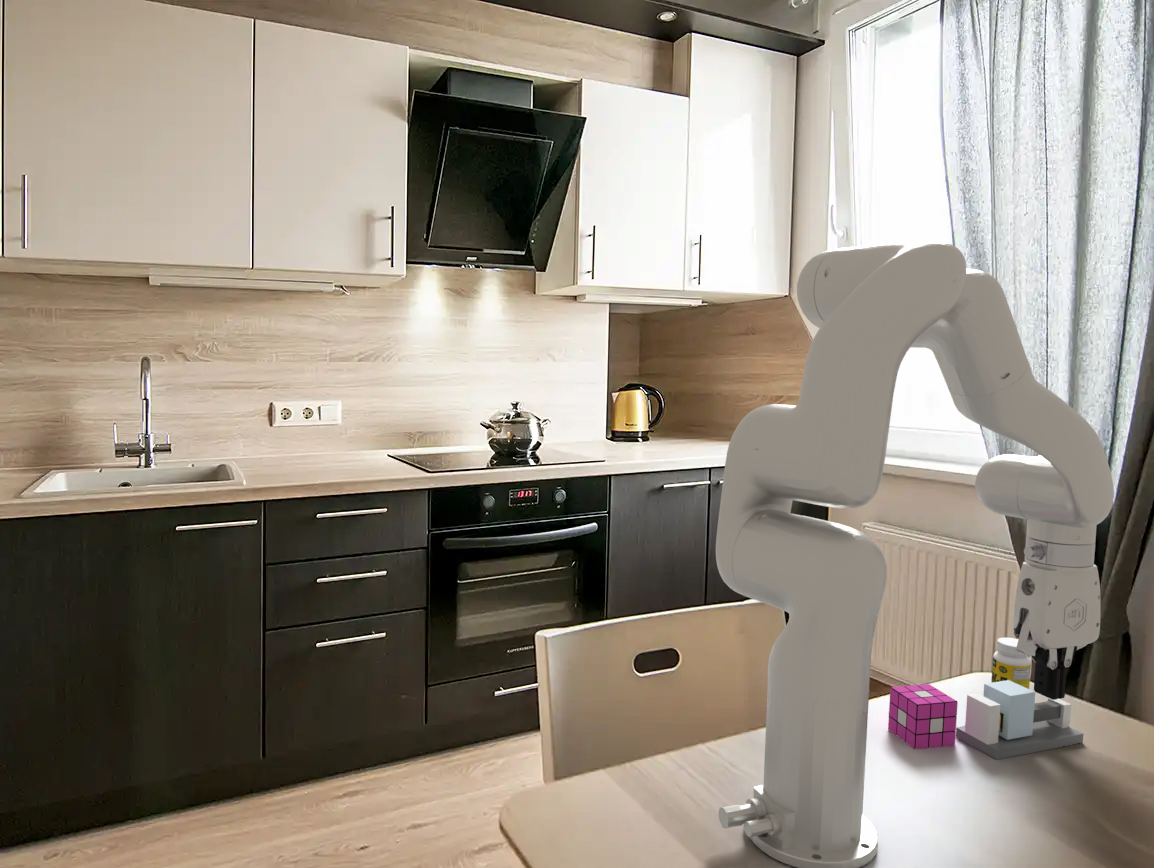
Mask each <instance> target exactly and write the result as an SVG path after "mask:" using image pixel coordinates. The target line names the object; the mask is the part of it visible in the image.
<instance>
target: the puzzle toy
mask: <svg viewBox="0 0 1154 868" xmlns="http://www.w3.org/2000/svg"><path fill="white" fill-rule="evenodd" d="M889 691H890V692H889V704H888V705H889V707H888V726H887V727H888V728H887V730H888V731H889V732H890V733H892V734H893V735H895V737H897V738H899V739H900V740H901V741H903V742H904V743H906V744H907V745H908V746H909V747H911V748H912V749H914V750H922V749H929V748H930V749H932V748H941V747H949V746H950V747H951V746H952V747H953V746H955V745H956V727H957V720H958V719H957V715H958V700H956V699H954V698H953V697H951V696H949V695H948V694H946V693H944V692H943V691H941V690H940V689H938V688H936V687H935V686H933V685H931V684H929V683H924V684H914V685H913V684H911V685H904V686H903V685H901V686H900V685H899V686H890V688H889Z"/></svg>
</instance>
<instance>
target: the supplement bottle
mask: <svg viewBox="0 0 1154 868" xmlns="http://www.w3.org/2000/svg"><path fill="white" fill-rule="evenodd" d="M1018 640H1019V639H1018V638H1016V637H1015V638H1014V637H999V638H998V639H997V641H996V645H995V646H996V651H995V652H994V653H993V654H992V655H993V656H992V666H991V682H990V683H993V682H1000V681H1006V680H1010V681H1012V682H1014V683H1016V684H1019V685H1021V686H1023V687H1025V688H1027V689H1030V683H1031V682H1030V681H1031V672H1032V671H1031V668H1032V659H1031V658H1030V657H1029V655H1026V654H1023V653H1021V652H1018V651H1017V649H1016V648H1017V644H1018Z"/></svg>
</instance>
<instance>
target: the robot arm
mask: <svg viewBox="0 0 1154 868" xmlns="http://www.w3.org/2000/svg"><path fill="white" fill-rule="evenodd" d="M796 294H797V295H796V297H797V303H798V306H799V307H800V310H801V312H802V314H803V315H804V317H805V318H806V319H807V320H808V321H809V322H810V323H811V324H812V325H814V326H815V327H816V328H818V331H817V332H816V334H815V335H814V337H813V339H812V342H811V343H810V346H809V348H808V351H807V355H806V358H805V363H804V364H805V365H804V369H803V375H802V381H801V386H800V391H799V396H798V400H797V403H796V405H793V404H784V403H783V404H779V403H772V404H765V405H761V406H758V407H757V408H756V407H755V409H752V410H751V411H750V412H749V413H747V414H746V415H745V416H744V417H743V418H742V419H741V420H740V421H739V423H738V425H737V426H736V428H734V429H735V430H734V432H733V433H732V436H731V438H730V441H729V444H728V447H727V452H726V457H725V465H724V471H723V480H722V487H721V495H720V505H719V511H718V518H717V519H718V520H717V521H718V522H717V527H716V528H717V529H716V537H715V560H716V566H717V570H718V573H719V576H720V577H721V579H722V580H723V583H725V584H726V586H728V587H729V589H730V590H732V591H733V592H735V593H737V594H739V595H742V596H743V597H746V598H749V599H751V600H755V601H757V602H760V603H763V604H766V605H768V606H772V607H774V608H777V609H778V610H780V611H781V610H782V611H784V612H786V613H788V614H789V615H788V616H789V618H788V622H787V623H786V626H785V627H784V628H783V630H782V632H781V633H780V634H779V636H778V637H777V638H776V640H775V641H774V643H773V645H772V648H771V650H770V653H769V657H768V666H767V695H766V717H765V740H764V741H765V743H764V744H765V745H764V760H763V761H764V768H763V784H760V785H757V786H753V797H752V798H748V799H747V800H745V803H740V804H731V805H726V806H721V807H719V809H718V820H719V823H720V825H721V827H723V829H729V828H736V827H739V826H743V829H744V833H745V834H746V836H747V837H748V838H749V839H750V840H751V841H752V843H753V844H754V845H755V846H756V847H758V849H760V850H761V851H762V852H763V853H765V854H766V855H768V856H769V857H771V858H773V859H774V860H776V861H779V862H781V863H783V864H786V865H789V866H792V867H794V868H861V867H863V866H865V865H867V864H868V863H869V862H871V861H872V860H873V859H874V857H875V856H876V855H877V853H878V847H879V844H878V843H879V835H878V832H877V829H876V828H875V826H874V825H873V822H871V820H869V819H868V818H867V817H866V816H865V815H864V814H863V811H864V810H863V809H864V794H865V793H864V792H865V791H864V790H865V773H866V758H867V757H866V755H867V754H866V753H867V740H868V739H867V738H868V737H867V736H868V720H869V719H868V717H869V701H870V699H869V698H870V676H871V675H870V674H871V663H872V650H873V643H874V637H875V632H876V631H875V630H876V626H877V622H878V618H879V613H880V609H881V607H882V604H883V599H884V595H885V593H886V592H885V591H886V588H887V587H886V586H887V581H888V580H887V579H888V569H887V567H888V566H887V562H886V558H885V555H884V553H883V552H882V550H881V548H880V547H879V545H878V544H877V543H876V542H875V540H874V539H872V538H871V537H869V535H867V534H865V533H863V532H862V531H860V530H858V529H856V528H854V527H851V526H848V525H846V524H841V523H838V522H834V521H829V520H825V519H820V518H817V517H816V518H815V517H813V516H806V515H801V514H795V513H791V512H792V506H793V501H796V502H802V503H806V504H812V505H817V506H822V507H826V508H835V509H856V508H861V507H862V506H865V505H867V504H868V503H870V502H871V501H872V500H873V499H874V497H875V496H876V495H877V492H878V490H879V488H880V484H881V481H882V477H883V473H884V467H885V460H886V453H887V446H888V439H889V432H890V425H891V424H890V423H891V418H892V417H891V416H892V408H893V401H894V395H895V394H894V393H895V388H896V382H897V378H898V372H899V370H900V366H901V364H902V361H903V360H904V358H905V356H906V354H907V352H908V351H909V349H910V348H919V349H920V348H926V349H928V350H930V351H931V352H932V353H933V356H934V357H935V359H936V362H937V365H938V367H939V369H940V371H941V374H942V376H943V379H944V382H945V383H946V387H947V389H948V391H949V393H950V396H951V399H952V401H953V404H954V407H955V408H956V410H957V411H958V412H959V414H961V415H963V416H964V417H965V418H967V419H969V420H970V421H972V422H973V423H976V424H977V425H979V426H980V427H983V428H985V429H987V430H989V431H991V432H993V433H996V434H998V435H1000V436H1003V437H1005V438H1008V439H1010V440H1012V441H1015V442H1017V443H1019V444H1021V445H1023V446H1025V447H1027V448H1029V449H1030V450H1032V451H1034V452H1035V453H1037V454H1038V455H1037V456H1035V455H1034V456H1033V455H1024V454H1023V455H1022V454H1014V453H1013V454H1011V453H1006V454H1005V453H1004V454H1000V455H997V456H993V457H991V458H990V459H988V460H986V462H984V463H983V465H982V466H981V467H980V468H979V470H978V472H977V473H976V476H975V482H974V483H975V484H974V488H975V489H974V490H975V495H976V497H977V498H978V500H979V502H980V503H981V504H982V505H983V506H984V507H985V508H986V509H988V510H989V511H992V512H993V513H995V514H999V515H1002V516H1007V517H1010V518H1011V517H1012V518H1018V519H1024V520H1026V533H1025V534H1026V536H1025V546H1024V548H1023V553H1024V561H1023V562H1022V564H1021V569H1020V573H1019V575H1018V580H1017V587H1016V590H1015V591H1016V592H1015V597H1014V604H1013V605H1014V606H1013V616H1012V631H1013V635H1014V637H1015V639H1019V640H1018V644H1017V648H1016V649H1017V651H1018V652H1021V653H1023V654H1026V655H1028V656H1030V657H1031V662H1033V663H1035V667H1034V668H1035V669H1034V679H1033V691H1034V692H1035V693H1037V694H1040V696H1044V697H1046V698H1047V699H1048V698H1050V699H1052V700H1056V699H1061V700H1062V699H1065V697H1066V682H1067V671H1068V670H1067V668H1069V667H1070V666H1071V665H1072V660H1073V656H1074V654H1075V653H1076V652H1077V651H1079V650H1080V649H1083V648H1084V647H1086V646H1087V645H1088V644H1089V645H1090V644H1092V643H1094V642H1096V641H1097V640H1098V639H1099V636H1100V631H1101V609H1102V608H1101V605H1102V604H1101V586H1100V585H1101V583H1100V577H1099V576H1100V575H1099V570H1098V566H1097V565H1096V564H1095V552H1096V538H1097V537H1096V536H1097V525H1099V524H1101V523H1102V522H1103V521H1104V520H1105V519H1106V518H1107V517H1108V516H1109V514H1110V511H1112V508H1113V504H1114V503H1113V502H1114V499H1115V498H1114V496H1115V495H1114V494H1115V489H1114V482H1113V476H1112V472H1111V468H1110V465H1109V462H1108V459H1107V456H1106V453H1105V449H1104V447H1103V444H1102V441H1101V439H1100V437H1099V435H1098V434H1097V432H1096V430H1095V429H1094V428H1093V427H1092V426H1091V424H1090V423H1089V421H1087V420H1086V419H1085V418H1084V417H1083V416H1082V415H1081V414H1079V413H1078V411H1076V410H1075V409H1074V408H1072V407H1071V406H1070V405H1069V404H1068V402H1067V403H1066V402H1065V401H1064V400H1063V399H1062V398H1061V397H1059V396H1058V394H1056V393H1054V392H1053V391H1051V390H1050V389H1049V388H1048V387H1046V386H1044V385H1042V384H1041V383H1040V382H1039V381H1037V379H1036V378H1035V376H1034V374H1033V371H1032V368H1031V367H1032V366H1031V365H1030V362H1029V359H1028V356H1027V354H1026V351H1025V349H1024V346H1023V343H1022V339H1021V336H1020V334H1019V331H1018V327H1017V324H1016V323H1015V319H1014V316H1013V314H1012V311H1011V309H1010V308H1011V307H1010V305H1009V302H1008V299H1007V297H1006V294H1005V292H1004V290H1003V287H1002V285H1001V284H1000V282H999V281H998V279H997V278H995V277H994V276H993V275H991V274H990V273H988V272H986V271H984V270H980V269H973V268H967V261H966V259H965V255H964V254H963V253H962V251H961V250H960V249H959V248H957V247H956V246H955V245H953V244H952V243H949V242H947V241H943V240H938V239H937V240H936V239H910V240H898V241H889V242H882V243H876V244H869V245H867V244H866V245H858V246H849V247H840V248H835V249H827V250H825V251H822V252H820V253H817V254H816V255H813V257H812V258H810V259H809V260H808V261H807V263H805V265H804V266H803V268H802V269H801V272H800V274H799V276H798V279H797V283H796Z"/></svg>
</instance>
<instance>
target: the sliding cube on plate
mask: <svg viewBox="0 0 1154 868" xmlns="http://www.w3.org/2000/svg"><path fill="white" fill-rule="evenodd" d="M965 707H966V709H965V722H964V723H965V724H964V725H962V726H956V735H955V738H957V739H959V740H960V741H963V742H964V743H966V744H968V745H970V746H972V747H973V748H974V749H975V748H976V749H977V750H979V751H980V752H982V753H984V754H986V755H988V756H990V757H991V758H993V759H994V760H1000V759H1005V758H1012V757H1016V756H1022V755H1026V754H1032V753H1039V752H1043V751H1049V750H1052V749H1058V747H1059V748H1064V747H1063V746H1065V747H1069V746H1068V745H1070V746H1072V745H1071V744H1075V745H1077V744H1076V743H1080V744H1082V743H1081V742H1083V743H1084V733H1083V732H1081V731H1079V730H1077V729H1074V728H1073V727H1070V726H1071V725H1070V724H1071V723H1070V722H1071V713H1072V711H1071V710H1072V703H1069V702H1067V701H1065V700H1062V699H1059V698H1058V699H1056V700H1052V699H1050V698H1048V697H1047V701H1041V702H1035V704H1034V718H1033V731H1032V735H1031V736H1025V737H1020V738H1014V739H1009V740H1007V739H1005V738H1003V737H1001V736H999V735H998V734H999V732H1000V728H1003V715H1004V714H1002V713H1000V704H998V703H996V702H994V701H992V700H990V699H988V698H986V697H984V695H982V694H980V693H978V692H977V693H970V694H966V706H965Z"/></svg>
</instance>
